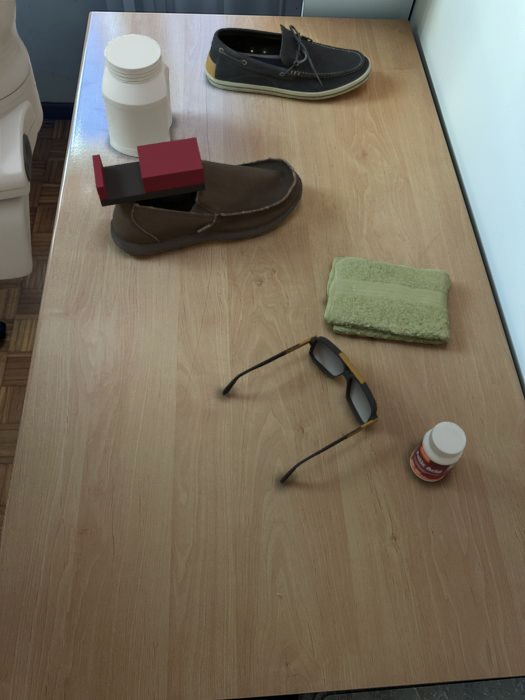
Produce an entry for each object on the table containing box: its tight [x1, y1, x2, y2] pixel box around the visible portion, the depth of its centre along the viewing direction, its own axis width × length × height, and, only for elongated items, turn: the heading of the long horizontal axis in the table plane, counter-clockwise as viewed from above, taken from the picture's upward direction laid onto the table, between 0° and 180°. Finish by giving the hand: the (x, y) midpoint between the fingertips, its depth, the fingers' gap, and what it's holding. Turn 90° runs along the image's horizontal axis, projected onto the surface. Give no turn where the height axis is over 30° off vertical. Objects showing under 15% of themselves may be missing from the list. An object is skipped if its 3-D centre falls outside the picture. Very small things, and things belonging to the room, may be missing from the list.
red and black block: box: [91, 136, 206, 208], centre depth 89 cm, size 14×6×4 cm, turn 102°
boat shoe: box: [204, 23, 373, 101], centre depth 115 cm, size 11×29×9 cm, turn 89°
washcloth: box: [323, 255, 452, 346], centre depth 93 cm, size 13×18×3 cm
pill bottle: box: [409, 421, 467, 483], centre depth 79 cm, size 5×5×8 cm
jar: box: [101, 33, 173, 158], centre depth 103 cm, size 12×10×15 cm
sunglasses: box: [221, 334, 381, 484], centre depth 83 cm, size 14×15×5 cm
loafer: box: [109, 157, 304, 256], centre depth 96 cm, size 11×30×11 cm, turn 116°
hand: (20, 228), depth 61 cm, fingers open, 8 cm apart
